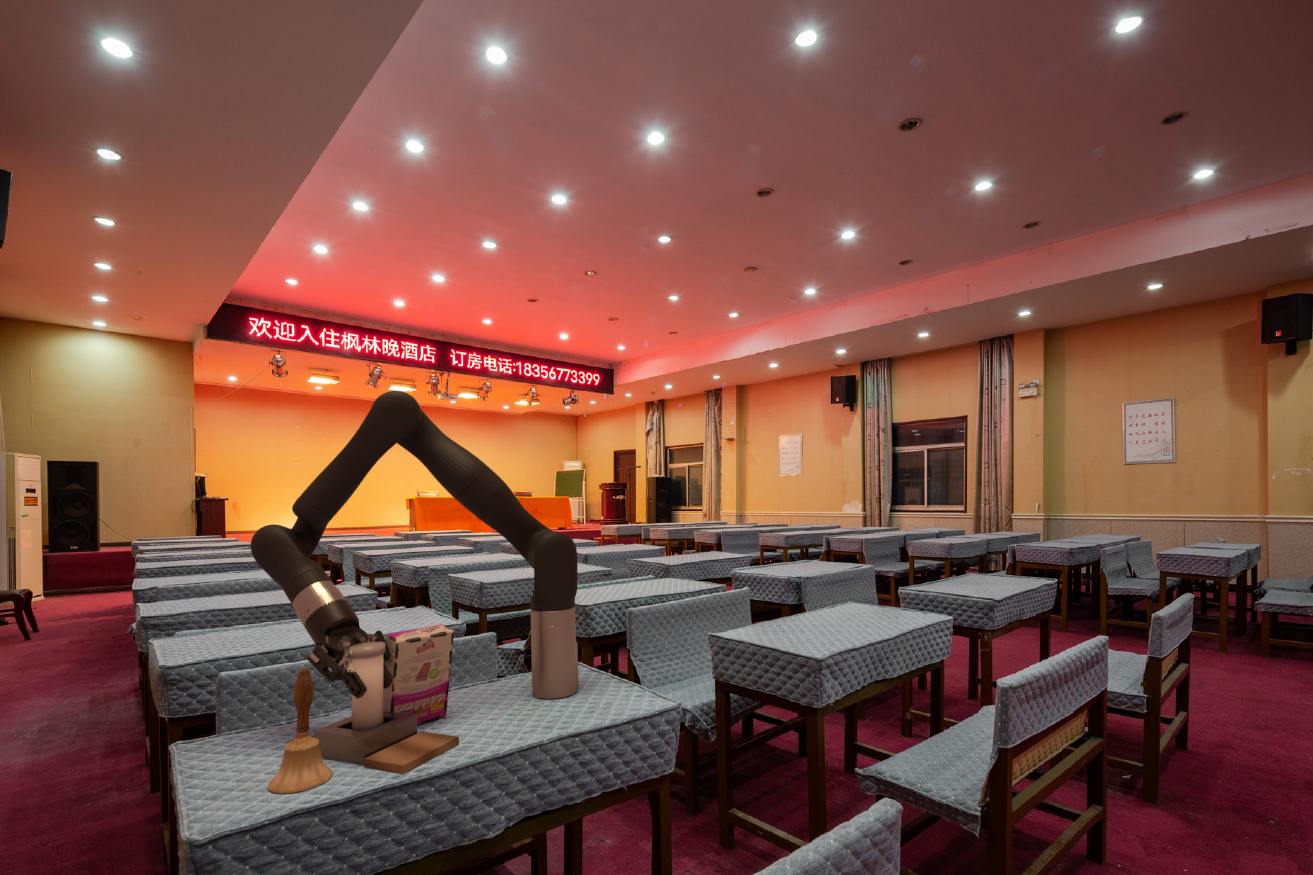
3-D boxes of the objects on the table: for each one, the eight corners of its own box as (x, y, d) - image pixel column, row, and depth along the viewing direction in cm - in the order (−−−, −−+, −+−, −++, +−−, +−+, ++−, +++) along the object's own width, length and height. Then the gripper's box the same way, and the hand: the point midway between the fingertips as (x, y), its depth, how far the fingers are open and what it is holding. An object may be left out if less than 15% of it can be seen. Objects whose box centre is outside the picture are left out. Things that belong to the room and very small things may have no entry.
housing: (369, 732, 111) (370, 708, 112) (417, 739, 107) (417, 714, 107) (314, 756, 101) (314, 730, 102) (364, 765, 97) (364, 738, 97)
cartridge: (369, 724, 108) (369, 640, 109) (392, 727, 106) (392, 642, 107) (342, 735, 103) (342, 648, 104) (366, 739, 101) (366, 650, 102)
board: (421, 738, 107) (421, 731, 107) (458, 743, 104) (458, 736, 104) (363, 766, 96) (363, 758, 96) (403, 773, 93) (403, 765, 93)
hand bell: (341, 766, 97) (342, 660, 98) (319, 791, 88) (320, 674, 90) (284, 771, 96) (286, 663, 97) (256, 796, 87) (259, 678, 89)
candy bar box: (433, 706, 121) (442, 622, 121) (446, 716, 118) (456, 630, 117) (375, 722, 113) (385, 632, 113) (388, 734, 110) (397, 641, 109)
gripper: (298, 605, 103) (351, 687, 97) (370, 591, 116) (420, 663, 110) (276, 636, 104) (326, 719, 99) (349, 620, 118) (397, 692, 112)
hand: (375, 689), depth 104 cm, fingers closed on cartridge, 4 cm apart
